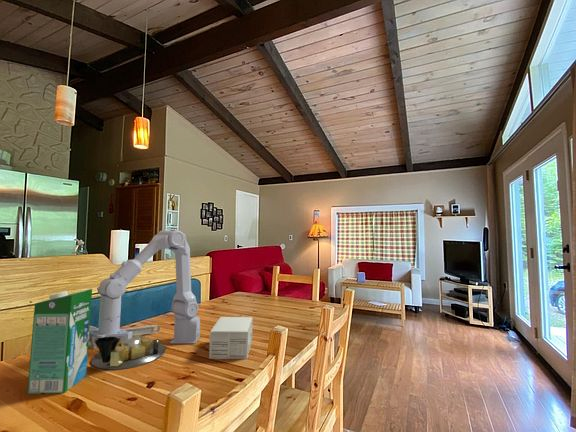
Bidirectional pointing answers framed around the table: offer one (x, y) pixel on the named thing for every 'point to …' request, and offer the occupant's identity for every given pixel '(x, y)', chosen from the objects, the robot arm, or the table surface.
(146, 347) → the golden segmented ring
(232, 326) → the supplement box
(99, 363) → the cap base
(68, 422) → the table surface
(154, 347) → the stop pin
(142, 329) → the wrench
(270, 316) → the table surface
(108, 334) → the robot arm
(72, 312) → the milk carton
